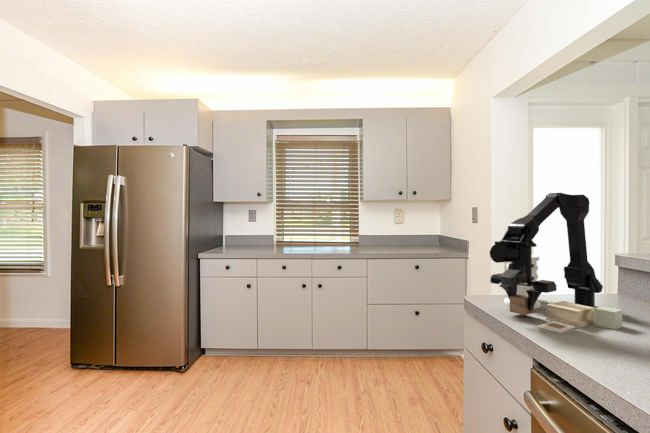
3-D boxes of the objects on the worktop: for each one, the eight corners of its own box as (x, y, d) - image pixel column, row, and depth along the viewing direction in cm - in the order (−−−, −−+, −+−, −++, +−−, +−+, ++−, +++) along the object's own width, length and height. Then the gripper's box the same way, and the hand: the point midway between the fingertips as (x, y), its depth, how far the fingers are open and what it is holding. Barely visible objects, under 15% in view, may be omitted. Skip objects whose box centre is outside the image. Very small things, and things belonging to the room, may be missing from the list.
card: (552, 322, 107) (552, 320, 107) (574, 328, 102) (574, 326, 102) (538, 327, 103) (538, 325, 103) (560, 333, 98) (560, 331, 98)
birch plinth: (563, 316, 115) (563, 301, 115) (594, 324, 107) (594, 307, 107) (546, 320, 111) (546, 304, 111) (577, 328, 103) (577, 311, 103)
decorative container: (507, 299, 137) (506, 253, 137) (542, 303, 130) (541, 254, 130) (501, 305, 127) (501, 256, 127) (539, 310, 121) (538, 258, 120)
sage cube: (602, 322, 108) (602, 306, 108) (622, 326, 104) (622, 309, 104) (594, 325, 105) (594, 308, 105) (615, 329, 101) (614, 312, 101)
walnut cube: (518, 309, 118) (518, 294, 118) (533, 312, 114) (533, 297, 114) (509, 311, 116) (509, 296, 116) (524, 315, 111) (524, 299, 111)
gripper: (480, 259, 118) (480, 306, 119) (537, 266, 102) (537, 320, 103) (500, 257, 124) (500, 301, 124) (557, 263, 108) (557, 314, 108)
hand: (521, 308), depth 115 cm, fingers closed on walnut cube, 5 cm apart
